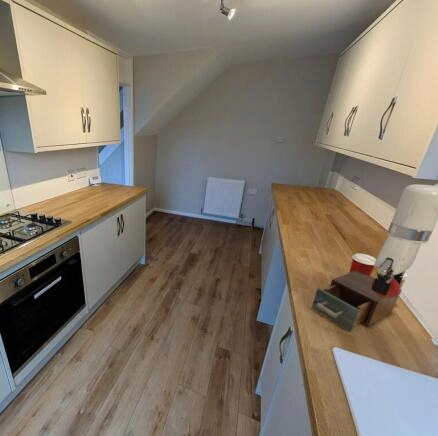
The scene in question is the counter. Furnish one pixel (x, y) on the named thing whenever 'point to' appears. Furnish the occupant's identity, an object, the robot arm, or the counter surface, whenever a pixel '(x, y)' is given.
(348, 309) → the drawer
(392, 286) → the onion
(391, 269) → the robot arm
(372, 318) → the cabinet
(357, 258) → the paper cup
